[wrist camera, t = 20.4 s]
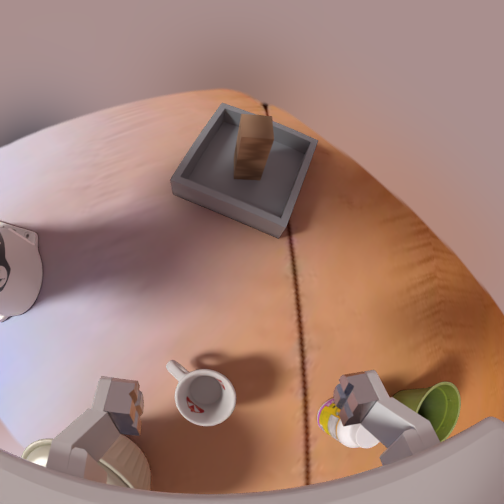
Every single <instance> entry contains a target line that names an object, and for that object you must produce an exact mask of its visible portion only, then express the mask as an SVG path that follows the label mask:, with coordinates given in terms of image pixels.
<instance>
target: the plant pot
mask: <svg viewBox="0 0 504 504" xmlns="http://www.w3.org/2000/svg"><path fill="white" fill-rule="evenodd" d="M393 398H395V399H396V400H398V401H399V402H401V403H402V404H404V405H405V406H407V407H408V408H410V409H411V410H413V411H414V412H416V413H417V414H419V415H421V416H422V417H424V418H425V419H427V420H428V421H430V423H431V425H432V427H433V429H434V431H435V433H436V435H437V437H438V439H439V441H440V442H442V441H445V440H446V439H447V437H448V436H449V435H450V434H451V432H452V431H453V429H454V427H455V425H456V423H457V420H458V417H459V413H460V406H461V399H460V394H459V391H458V389H457V387H456V386H455V385H454V384H452V383H451V382H440V383H438V384H436V385H434V386H431V387H428V388H421V389H411V390H402V391H399V392H397V393H396V394H395V395H394V396H393Z"/></svg>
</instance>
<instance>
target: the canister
mask: <svg viewBox="0 0 504 504" xmlns="http://www.w3.org/2000/svg"><path fill="white" fill-rule="evenodd" d="M52 440H53V439H41V440H38V441H35V442H33V443H31V444H30V445H29V446H28V447H27V448H26V449H25V450H24V452H23V454H22V456H21V458H23V459H25V460H28V461H30V462H33V463H36V464H38V465H41V466H44V467H46V464H47V459H48V455H49V451H50V447H51V443H52ZM98 464H99V465H100V466H101V467H102V468H103V469H104V470H105V471H106V473H107V484H110V485H116V486H121V487H127V488H134V489H141V490H149V491H150V485H151V471H150V466H149V464H148V461H147V459H146V457H145V455H144V453H143V452H142V451H141V449H140V448H139V447H138V446H137V445H136V444H135V443H134V442H132V441H131V439H129V438H127V437H126V436H124V435H122V434H120V436H119V437H118V439H117V440H116V441H115V442H114V443H113V445H112V446H111V447H110V448H109V449H108V451H107V452H106V453H105V454H104V455H103V457H102V458H101V459H100V460H99V461H98Z"/></svg>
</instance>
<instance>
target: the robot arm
mask: <svg viewBox="0 0 504 504" xmlns="http://www.w3.org/2000/svg"><path fill="white" fill-rule="evenodd" d="M28 236H29V237H28ZM42 274H43V271H42V262H41V258H40V255H39V252H38V235H37V233H35V232H33V231H30V230H26V229H23V228H19V227H16V226H13V225H9V224H6V223H3V222H0V322H3V321H4V320H6V319H7V318H8V317H10V316H16V315H20V314H22V313H24V312H26V311H27V310H28V309H29V308H30V307H31V306H32V305H33V303H34V302H35V300H36V298H37V296H38V294H39V291H40V288H41V283H42ZM339 381H340V384H338V385H337V386H336V387H335V390H334V396H333V397H334V402H335V405H336V407H338V408H339V409H340V413H339V416H340V419H341V422H342V424H343V426H349V425H354V424H359V423H361V425H362V426H363V427H364V428H365V429H366V430H368V431H369V432H370V433H371V434H372V435H373V436H374V437H375V438H377V439H378V440H379V441H380V442H381V443H382V444H383V445H385V446H386V447H387V449H386V450H385V451H384V452H383V453H382V454H381V456H380V460H381V462H382V465H383V466H381V467H378V468H375V469H372V470H368V471H365V472H362V473H358V474H355V475H351V476H347V477H343V478H339V479H335V480H331V481H326V482H322V483H317V484H312V485H306V486H301V487H295V488H288V489H281V490H273V491H263V492H252V493H236V494H185V493H169V492H158V491H149V490H141V489H134V488H127V487H121V486H116V485H110V484H107V473H106V471H105V470H104V469H103V468H102V467H101V466H100V465H99V464H98V461H99V460H100V459H101V458H102V457H103V455H104V454H105V453H106V452H107V451H108V449H109V448H110V447H111V446H112V445H113V443H114V442H115V441H116V440H117V439H118V437H119V436H120V434H126V435H136V436H140V433H141V425H142V422H141V419H140V416H141V415H142V414H143V408H144V400H143V394H142V392H141V391H140V390H139V387H140V385H139V383H138V381H135V380H126V379H118V378H112V377H104V376H101V378H100V379H99V382H98V385H97V389H96V393H95V396H94V400H93V404H92V408H91V409H87V410H86V411H85V412H84V413H82V414H81V415H80V416H79V417H78V418H77V419H76V420H75V421H73V422H72V423H71V424H70V425H69V426H68V427H67V428H65V429H64V430H63V431H62V432H61V433H60V434H59V435H58V436H56V437H55V438H54V439H53V440H52V443H51V447H50V451H49V455H48V459H47V464H46V467H44V466H41V465H38V464H36V463H33V462H30V461H28V460H25V459H23V458H20V457H18V456H16V455H13V454H11V453H9V452H7V451H4V450H2V449H0V504H504V422H502V421H501V420H499V419H497V418H495V417H487V418H485V419H483V420H481V421H480V422H478V423H476V424H475V425H473V426H471V427H469V428H467V429H466V430H464V431H462V432H460V433H458V434H456V435H454V436H453V437H451V438H449V439H447V440H445V441H442V442H440V441H439V439H438V437H437V435H436V433H435V431H434V429H433V427H432V425H431V423H430V421H428V420H427V419H425V418H424V417H422V416H421V415H419V414H417V413H416V412H414V411H413V410H411V409H410V408H408V407H407V406H405V405H404V404H402V403H401V402H399V401H398V400H396V399H395V398H393V397H391V398H390V397H389V395H388V393H387V391H386V389H385V387H384V385H383V384H382V382H381V380H380V378H379V376H378V374H377V372H376V371H375V370H370V371H365V372H357V373H351V374H345V375H342V376H341V377H340V379H339Z"/></svg>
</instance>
